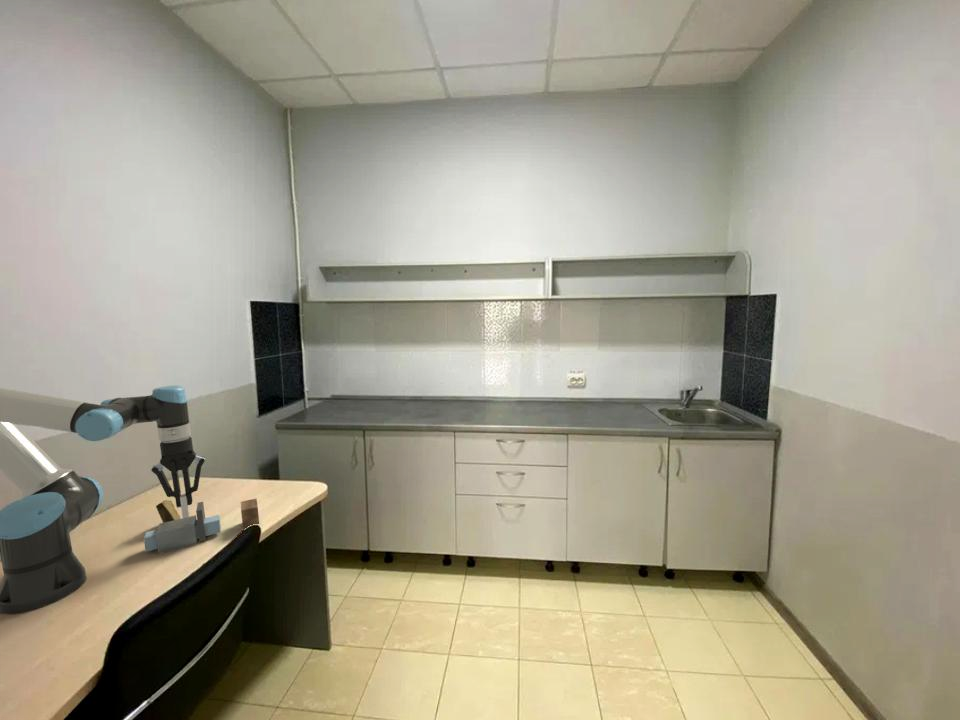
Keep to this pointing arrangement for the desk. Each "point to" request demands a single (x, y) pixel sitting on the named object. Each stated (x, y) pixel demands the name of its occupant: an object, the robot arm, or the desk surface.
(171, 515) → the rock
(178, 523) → the sleeve
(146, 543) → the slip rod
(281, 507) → the desk surface
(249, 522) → the socket block
